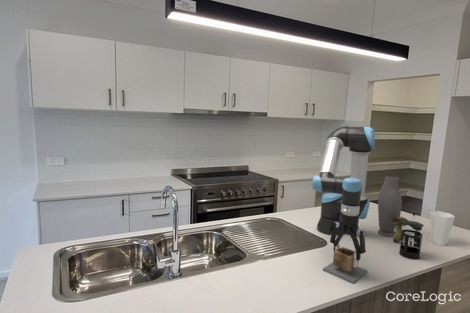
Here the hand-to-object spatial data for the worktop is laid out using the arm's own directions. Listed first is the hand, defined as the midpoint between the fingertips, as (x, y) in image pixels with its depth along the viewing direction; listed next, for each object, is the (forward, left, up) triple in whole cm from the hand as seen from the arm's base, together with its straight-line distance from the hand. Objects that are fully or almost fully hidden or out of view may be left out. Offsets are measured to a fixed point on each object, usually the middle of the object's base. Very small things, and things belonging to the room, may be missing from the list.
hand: (345, 262), depth 130 cm
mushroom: (+4, +54, -4) cm, 54 cm away
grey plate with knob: (0, 0, -4) cm, 4 cm away
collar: (0, 0, -1) cm, 1 cm away
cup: (+20, +72, -4) cm, 75 cm away
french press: (+14, +42, -4) cm, 45 cm away
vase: (-5, +63, -4) cm, 63 cm away
